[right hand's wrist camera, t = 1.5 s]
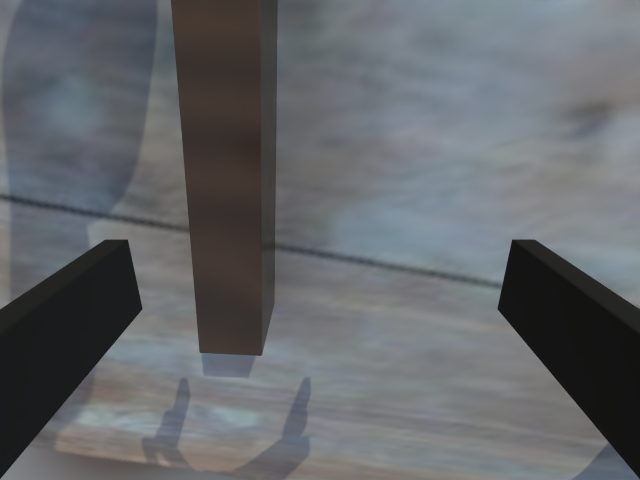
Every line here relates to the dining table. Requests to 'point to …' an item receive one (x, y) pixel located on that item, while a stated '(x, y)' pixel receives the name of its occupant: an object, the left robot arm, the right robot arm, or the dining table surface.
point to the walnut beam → (229, 164)
